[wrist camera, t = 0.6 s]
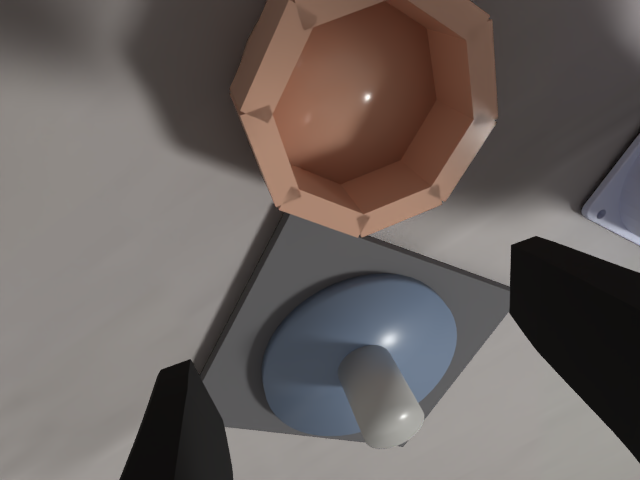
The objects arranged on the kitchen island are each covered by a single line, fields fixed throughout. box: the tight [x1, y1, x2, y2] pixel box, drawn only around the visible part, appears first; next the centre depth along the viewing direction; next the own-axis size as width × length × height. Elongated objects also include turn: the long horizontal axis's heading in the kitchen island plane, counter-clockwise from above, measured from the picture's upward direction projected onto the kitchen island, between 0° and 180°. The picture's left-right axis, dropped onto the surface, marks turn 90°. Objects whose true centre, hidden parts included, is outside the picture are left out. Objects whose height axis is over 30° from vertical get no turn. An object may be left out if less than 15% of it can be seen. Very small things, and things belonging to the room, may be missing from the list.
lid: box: [261, 273, 457, 449], centre depth 22 cm, size 10×10×4 cm
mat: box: [200, 212, 510, 447], centre depth 24 cm, size 14×12×1 cm
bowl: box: [229, 0, 498, 238], centre depth 16 cm, size 8×8×3 cm
